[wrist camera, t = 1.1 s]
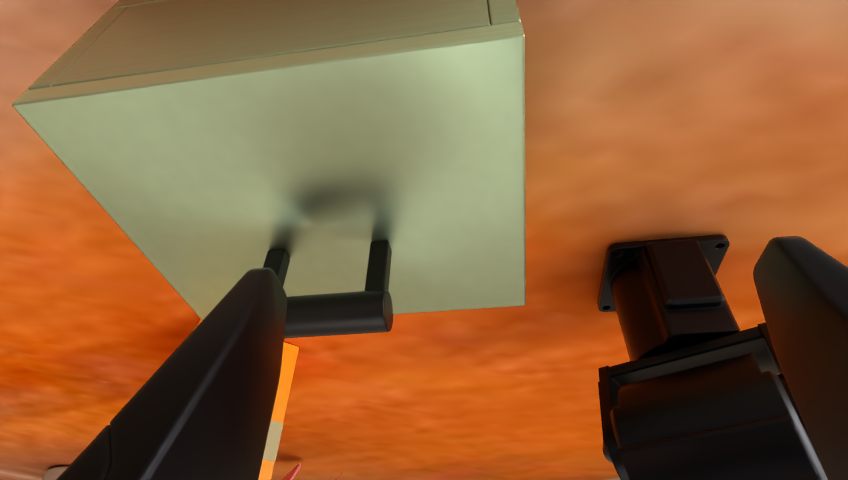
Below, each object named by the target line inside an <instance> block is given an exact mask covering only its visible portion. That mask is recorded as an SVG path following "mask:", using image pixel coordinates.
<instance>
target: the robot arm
mask: <svg viewBox="0 0 848 480" xmlns="http://www.w3.org/2000/svg"><path fill="white" fill-rule="evenodd" d="M728 247H729V241H728V239H727V237H726V236H725V235H710V236H697V237H685V238H672V239H660V240H648V241H635V242H623V243H615V244H612V245H610V246H609V247H608V249H607V254H606V259H605V264H604V270H603V275H602V281H601V286H600V292H599V297H598V302H597V304H598V308H599V310H600V311H602V312H612V311H617V315H618V318H619V322H620V325H621V329H622V332H623V336H624V339H625V343H626V347H627V350H628V354H629V357H630V362H626V363H622V364H619V365H615V366H611V367H609V366H605V367H601V368H599V380H600V382H598V386H599V398H600V409H601V420H602V431H603V453H604V456H605V458H606V459H607V460H608V461H610V462H611V463H613V464H614V467H615V469H616V471H617V473H618V475H619V477H620V479H621V480H848V267H846V266H845V265H843V264H842V263H840V262H839V261H837V260H836V259H834V258H833V257H831V256H830V255H828V254H827V253H825V252H824V251H822V250H821V249H819V248H818V247H816V246H815V245H813V244H812V243H810V242H809V241H807V240H806V239H804V238H802V237H798V236H788V237H776V238H773V239H771V240H770V241H769V242H768V244H767V246H766V248H765V249H764V251H763V253H762V254H761V256H760V258H759V260H758V261H757V263H756V265H755V267H754V272H753V276H754V282H755V285H756V289H757V292H758V296H759V300H760V303H761V307H762V310H763V314H764V317H765V321H766V322H765V323H761V324H758V327H754V328H750V329H747V330H743V331H740V329H739V327H738V325H737V322H736V320H735V318H734V316H733V314H732V312H731V310H730V307H729V305H728V303H727V301H726V299H725V296H724V294H723V292H722V290H721V288H720V286H719V283H718V281H717V279H716V277H715V275H716V273H717V271H718V269H719V266H720V264H721V262H722V260H723V258H724V255H725V253H726V251H727V249H728ZM286 311H287V296H286V292H285V290H284V288H283V287H282V285H281V283H280V281H279V279H278V278H277V276H276V274H275V272H274V271H273V270H272V269H271V268H254V269H250V270H249V271H247V272H246V273H245V274H244V275H243V277H242V278H241V279H240V280H239V281H238V282H237V283H236V284H235V285H234V286H233V288H232V289H231V290H230V291H229V292H228V293H227V294H226V295H225V296H224V297H223V299H222V300H221V301H220V302H219V303H218V304H217V305H216V306H215V307H214V308H213V310H212V311H211V312H210V313H209V314H208V315H207V316H206V317H205V318H204V319H203V321H202V322H201V323H200V324H199V325H198V326H197V327H196V328H195V329H194V330H193V331H192V333H191V334H190V335H189V336H188V337H187V338H186V339H185V340H184V341H183V342H182V344H181V345H180V346H179V347H178V348H177V349H176V350H175V351H174V352H173V353H172V355H171V356H170V357H169V358H168V359H167V360H166V361H165V362H164V363H163V364H162V366H161V367H160V368H159V369H158V370H157V371H156V372H155V373H154V374H153V375H152V377H151V378H150V379H149V380H148V381H147V382H146V383H145V384H144V385H143V386H142V387H141V389H140V390H139V391H138V392H137V393H136V394H135V395H134V396H133V397H132V398H131V400H130V401H129V402H128V403H127V404H126V405H125V406H124V407H123V408H122V409H121V411H120V412H119V413H118V414H117V415H116V416H115V417H114V418H113V419H112V420H111V422H110V425H107V426H106V427H105V428H104V429H103V430H102V431H101V432H100V433H99V434H98V436H97V437H96V438H95V439H94V440H93V441H92V442H91V443H90V444H89V445H88V446H87V448H86V449H85V450H84V451H83V452H82V453H81V454H80V455H79V456H78V457H77V458H76V459H75V460H74V461H73V462H72V463H71V464H70V466H69V467H68V468H67V469H66V470H65V471H64V472H63V473H62V474H61V475H60V476H59V477H58V478H57V479H56V480H258V479H259V474H260V470H261V465H262V460H263V455H264V451H265V446H266V441H267V437H268V432H269V427H270V422H271V418H272V413H273V408H274V403H275V399H276V394H277V389H278V384H279V379H280V373H281V365H282V354H283V344H284V333H285V322H286ZM779 373H780V374H779ZM777 374H778V375H777Z"/></svg>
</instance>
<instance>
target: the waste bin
mask: <svg viewBox="0 0 848 480" xmlns="http://www.w3.org/2000/svg"><path fill="white" fill-rule="evenodd" d="M512 22H521V18H520V14H519V10H518V6H517V2H516V0H120V1H118V2H117V3H116V4H115V5H114V6H113V7H112V8H111V9H110V10H109V11H108V12H107V13H106V14H105V15H104V16H102V17H101V18H100V19H99V20H98V21H97V22H96V23H95V24H94V25H93V26H92V27H91V28H90V29H89V30H88V31H87V32H86V33H85V34H84V35H83V36H82V37H81V38H80V39H79V40H78V41H77V42H76V43H75V44H73V45H72V46H71V47H70V48H69V49H68V50H67V51H66V52H65V53H64V54H63V55H62V56H61V57H60V58H59V59H58V60H57V61H56V62H55V63H54V64H53V65H52V66H51V67H50V68H49V69H48V70H47V71H46V72H45V73H43V74H42V75H41V76H40V77H39V78H38V79H37V80H36V81H35V82H34V83H33V84H32V85H31V86H30V87H29V90H32V89H39V88H46V87H53V86H61V85H68V84H75V83H82V82H89V81H96V80H104V79H111V78H118V77H125V76H132V75H139V74H147V73H154V72H161V71H168V70H175V69H182V68H190V67H197V66H204V65H211V64H218V63H225V62H233V61H240V60H247V59H254V58H261V57H268V56H276V55H283V54H290V53H297V52H304V51H311V50H319V49H326V48H333V47H340V46H347V45H354V44H362V43H369V42H376V41H383V40H390V39H397V38H405V37H412V36H419V35H426V34H433V33H440V32H448V31H455V30H462V29H469V28H476V27H484V26H491V25H498V24H505V23H512Z"/></svg>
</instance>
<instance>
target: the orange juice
mask: <svg viewBox="0 0 848 480" xmlns="http://www.w3.org/2000/svg"><path fill="white" fill-rule="evenodd" d="M201 322H202V319H200V320H199V322H198V323H197V325H196V326H195V328H196V327H197V326H198V325H199V324H200V323H201ZM195 328H194V329H195ZM194 329H193V330H194ZM298 351H299V347H297V346H294V345H291V344H288V343H285V342H284V344H283V354H282V365H281V373H280V379H279V384H278V389H277V394H276V399H275V403H274V408H273V413H272V418H271V422H270V427H269V432H268V437H267V441H266V446H265V451H264V455H263V460H262V465H261V470H260V474H259V479H258V480H271V476H272V471H273V466H274V462H275V461H276V456H277V451H278V447H279V442H280V437H281V433H282V428H283V420H284V416H285V411H286V406H287V402H288V397H289V392H290V388H291V383H292V379H293V374H294V369H295V365H296V360H297V355H298Z"/></svg>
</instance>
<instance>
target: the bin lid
mask: <svg viewBox="0 0 848 480" xmlns="http://www.w3.org/2000/svg"><path fill="white" fill-rule="evenodd" d="M12 106H13V107H14V108H15V109H16V110H17V111H18V113H19V114H20V115H21V116H22V117H23V118H24V119H25V121H26V122H27V123H28V124H29V125H30V126H31V127H32V128H33V130H34V131H35V132H36V133H37V134H38V135H39V136H40V137H41V139H42V140H43V141H44V142H45V143H46V144H47V145H48V147H49V148H50V149H51V150H52V151H53V152H54V153H55V154H56V156H57V157H58V158H59V159H60V160H61V161H62V162H63V163H64V165H65V166H66V167H67V168H68V169H69V170H70V171H71V173H72V174H73V175H74V176H75V177H76V178H77V179H78V180H79V182H80V183H81V184H82V185H83V186H84V187H85V188H86V189H87V191H88V192H89V193H90V194H91V195H92V196H93V197H94V199H95V200H96V201H97V202H98V203H99V204H100V205H101V206H102V208H103V209H104V210H105V211H106V212H107V213H108V214H109V215H110V217H111V218H112V219H113V220H114V221H115V222H116V223H117V225H118V226H119V227H120V228H121V229H122V230H123V231H124V232H125V234H126V235H127V236H128V237H129V238H130V239H131V240H132V241H133V243H134V244H135V245H136V246H137V247H138V248H139V249H140V251H141V252H142V253H143V254H144V255H145V256H146V257H147V258H148V260H149V261H150V262H151V263H152V264H153V265H154V266H155V267H156V269H157V270H158V271H159V272H160V273H161V274H162V275H163V277H164V278H165V279H166V280H167V281H168V282H169V283H170V284H171V286H172V287H173V288H174V289H175V290H176V291H177V292H178V293H179V295H180V296H181V297H182V298H183V299H184V300H185V301H186V303H187V304H188V305H189V306H190V307H191V308H192V309H193V310H194V312H195V313H196V314H197V315H198V316H199V317H200V318H201V319H202V321H203V319H204V318H205V317H206V316H207V315H208V314H209V313H210V312H211V311H212V310H213V308H214V307H215V306H216V305H217V304H218V303H219V302H220V301H221V300H222V299H223V297H224V296H225V295H226V294H227V293H228V292H229V291H230V290H231V289H232V288H233V286H234V285H235V284H236V283H237V282H238V281H239V280H240V279H241V278H242V277H243V275H244V274H245V273H246V272H247V271H249V270H250V269H254V268H271V269H272V270H273V271H274V272H275V274H276V276H277V278H278V279H279V281H280V283H281V285H282V287H283V288H284V290H285V292H286V296H287V311H286V322H285V333H284V338H297V337H313V336H330V335H346V334H362V333H378V332H389V331H390V330H391V328H392V323H393V314H404V313H419V312H434V311H449V310H464V309H479V308H494V307H509V306H524V305H525V304H526V276H525V34H524V30H523V26H522V23H521V22H512V23H505V24H498V25H491V26H484V27H476V28H469V29H462V30H455V31H448V32H440V33H433V34H426V35H419V36H412V37H405V38H397V39H390V40H383V41H376V42H369V43H362V44H354V45H347V46H340V47H333V48H326V49H319V50H311V51H304V52H297V53H290V54H283V55H276V56H268V57H261V58H254V59H247V60H240V61H233V62H225V63H218V64H211V65H204V66H197V67H190V68H182V69H175V70H168V71H161V72H154V73H147V74H139V75H132V76H125V77H118V78H111V79H104V80H96V81H89V82H82V83H75V84H68V85H61V86H53V87H46V88H39V89H32V90H26V91H25V92H24V93H23V94H22V95H21V96H20V97H19V98H18V99H17V100H16V101H15V102H13V103H12Z"/></svg>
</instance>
